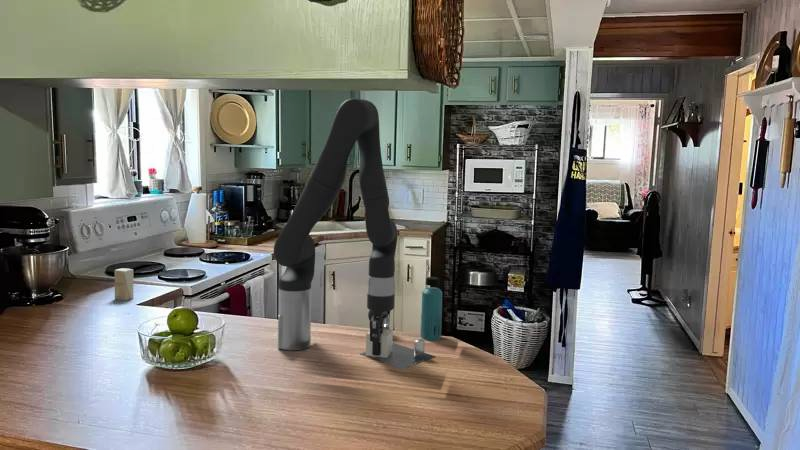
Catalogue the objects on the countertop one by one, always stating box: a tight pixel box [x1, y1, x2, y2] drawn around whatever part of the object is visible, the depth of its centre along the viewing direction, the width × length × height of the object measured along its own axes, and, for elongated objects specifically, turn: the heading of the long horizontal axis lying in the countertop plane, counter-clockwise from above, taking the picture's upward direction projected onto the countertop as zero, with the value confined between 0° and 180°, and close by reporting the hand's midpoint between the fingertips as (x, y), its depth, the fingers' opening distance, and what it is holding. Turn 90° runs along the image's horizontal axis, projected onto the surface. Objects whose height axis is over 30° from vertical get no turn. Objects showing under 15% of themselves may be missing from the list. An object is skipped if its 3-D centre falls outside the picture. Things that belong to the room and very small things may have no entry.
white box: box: [365, 328, 394, 358], centre depth 165 cm, size 6×6×6 cm
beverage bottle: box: [420, 276, 443, 342], centre depth 180 cm, size 6×7×20 cm
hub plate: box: [359, 338, 437, 371], centre depth 164 cm, size 14×16×6 cm
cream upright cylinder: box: [114, 267, 134, 301], centre depth 220 cm, size 5×4×11 cm
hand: (379, 350), depth 165 cm, fingers closed on white box, 6 cm apart
